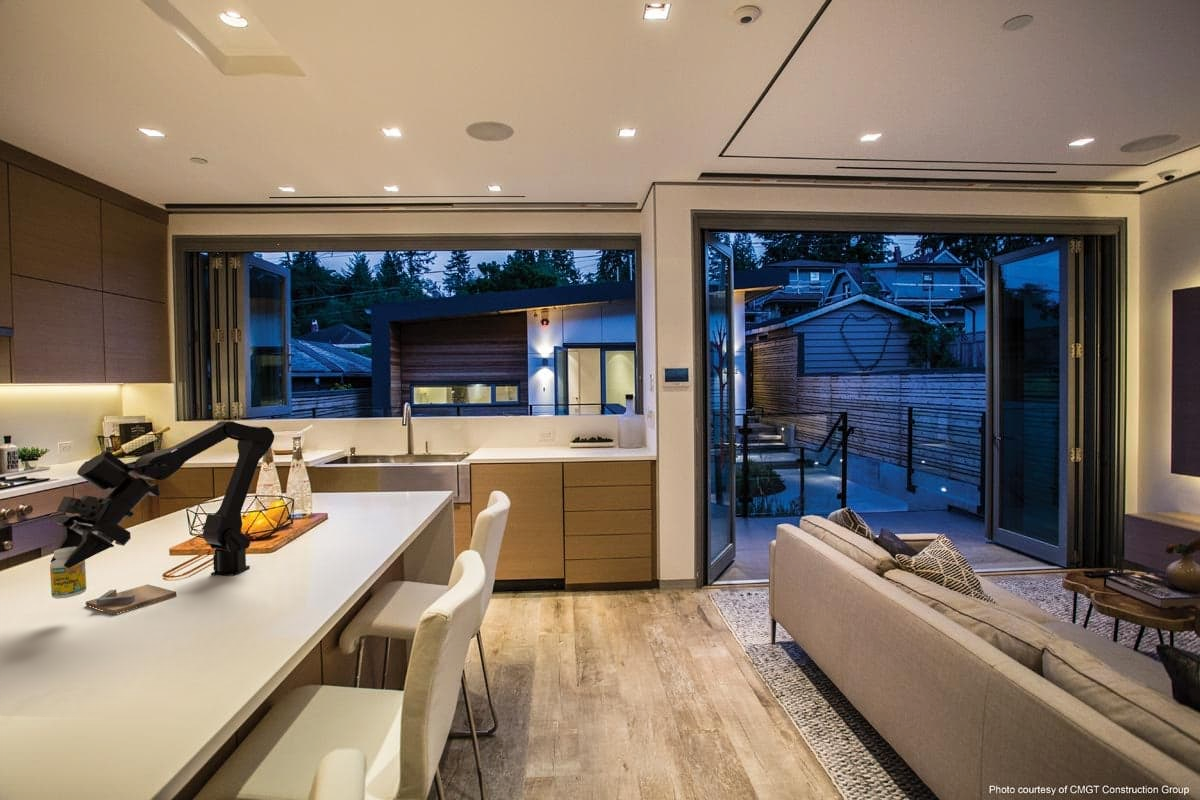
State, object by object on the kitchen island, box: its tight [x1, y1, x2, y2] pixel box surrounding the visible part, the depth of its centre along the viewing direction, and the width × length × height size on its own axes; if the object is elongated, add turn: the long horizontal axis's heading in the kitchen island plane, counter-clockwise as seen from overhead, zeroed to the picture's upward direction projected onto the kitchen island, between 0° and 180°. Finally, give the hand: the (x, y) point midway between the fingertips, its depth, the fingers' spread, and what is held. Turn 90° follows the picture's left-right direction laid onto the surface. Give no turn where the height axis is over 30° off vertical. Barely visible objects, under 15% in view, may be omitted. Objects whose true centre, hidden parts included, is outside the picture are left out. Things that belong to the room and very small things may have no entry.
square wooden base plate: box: [85, 584, 177, 615], centre depth 128 cm, size 12×12×2 cm
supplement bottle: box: [49, 547, 87, 600], centre depth 118 cm, size 5×5×10 cm
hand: (59, 565), depth 117 cm, fingers closed on supplement bottle, 5 cm apart
